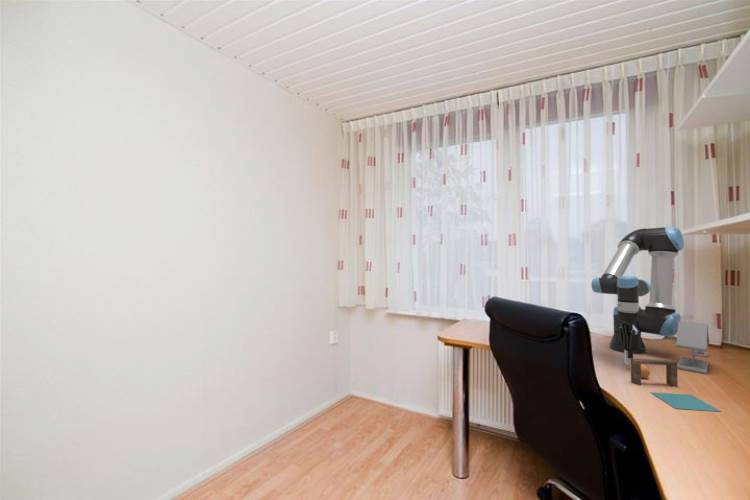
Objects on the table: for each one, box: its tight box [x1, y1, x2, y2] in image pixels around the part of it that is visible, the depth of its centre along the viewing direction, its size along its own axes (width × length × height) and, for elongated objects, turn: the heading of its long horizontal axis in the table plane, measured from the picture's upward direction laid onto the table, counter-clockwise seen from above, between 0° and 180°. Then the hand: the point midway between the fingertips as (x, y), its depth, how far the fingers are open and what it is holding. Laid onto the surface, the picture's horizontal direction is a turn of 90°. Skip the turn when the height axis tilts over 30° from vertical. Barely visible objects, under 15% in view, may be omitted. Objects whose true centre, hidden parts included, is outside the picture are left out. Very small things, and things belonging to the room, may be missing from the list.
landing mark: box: [650, 391, 722, 413], centre depth 117 cm, size 13×13×1 cm
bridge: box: [630, 358, 679, 387], centre depth 133 cm, size 3×14×9 cm, turn 80°
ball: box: [641, 364, 651, 379], centre depth 139 cm, size 6×6×6 cm
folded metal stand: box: [675, 320, 711, 375], centre depth 152 cm, size 18×10×20 cm, turn 133°
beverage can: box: [695, 344, 709, 357], centre depth 169 cm, size 6×6×15 cm
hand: (628, 364), depth 149 cm, fingers closed
